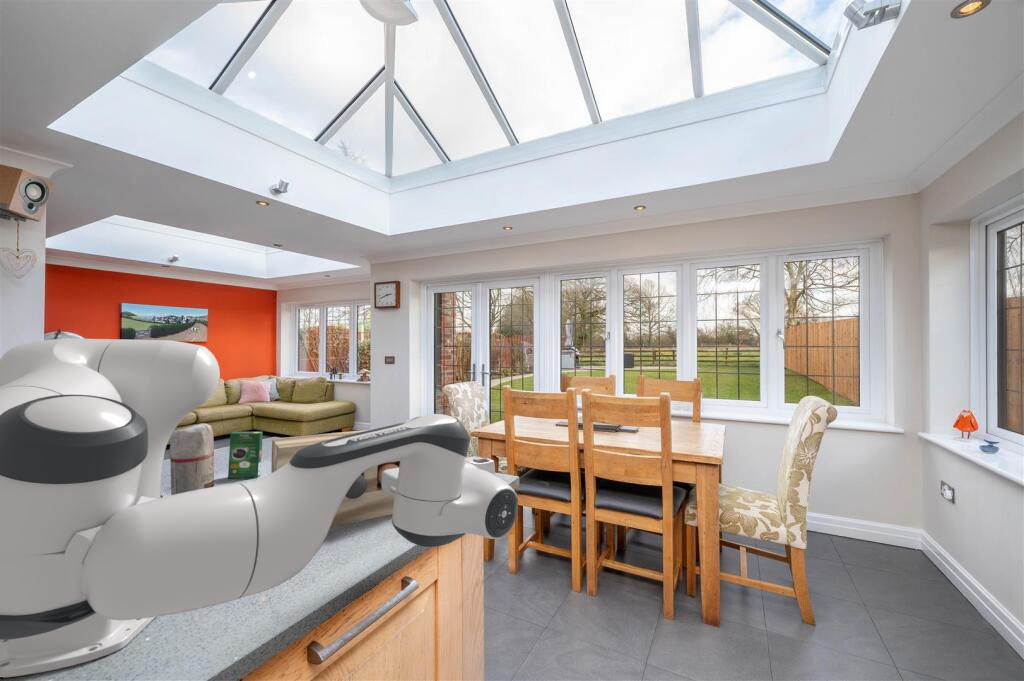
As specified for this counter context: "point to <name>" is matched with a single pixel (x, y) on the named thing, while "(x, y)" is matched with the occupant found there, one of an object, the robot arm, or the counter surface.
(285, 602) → the counter surface
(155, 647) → the counter surface
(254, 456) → the coffee box
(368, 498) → the wooden holder box
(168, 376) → the robot arm
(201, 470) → the paper wrapped package
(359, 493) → the dark grey cylinder
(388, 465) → the terracotta button
